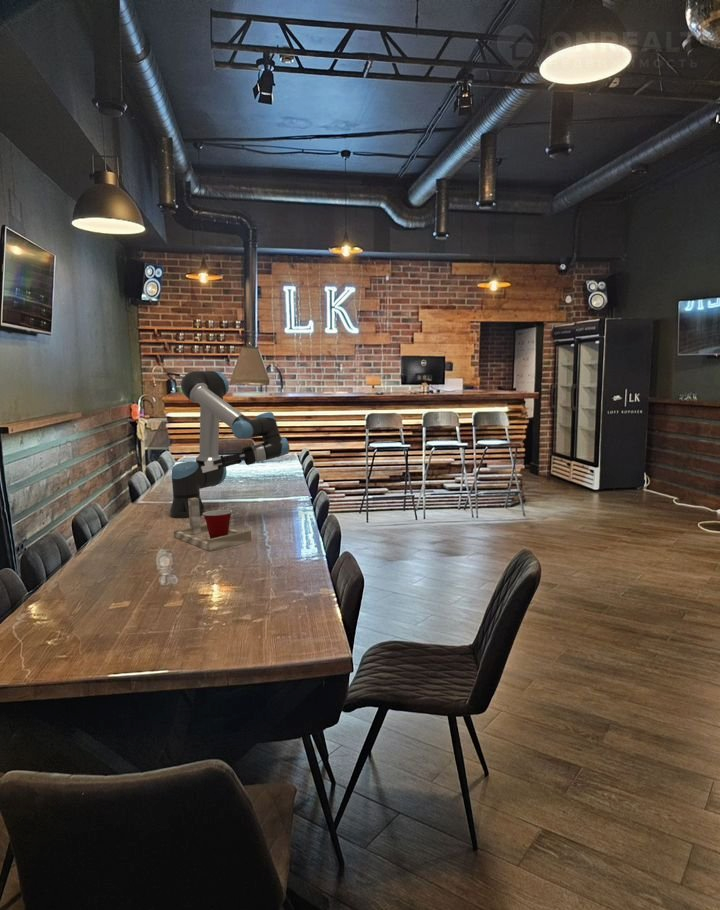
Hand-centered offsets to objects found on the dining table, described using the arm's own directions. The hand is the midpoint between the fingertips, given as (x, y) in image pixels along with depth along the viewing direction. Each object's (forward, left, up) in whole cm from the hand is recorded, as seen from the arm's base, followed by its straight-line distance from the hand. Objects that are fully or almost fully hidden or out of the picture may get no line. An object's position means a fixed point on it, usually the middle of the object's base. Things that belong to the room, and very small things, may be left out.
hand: (203, 467), depth 238 cm
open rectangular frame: (+18, -8, -25) cm, 32 cm away
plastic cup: (+24, -8, -25) cm, 36 cm away
